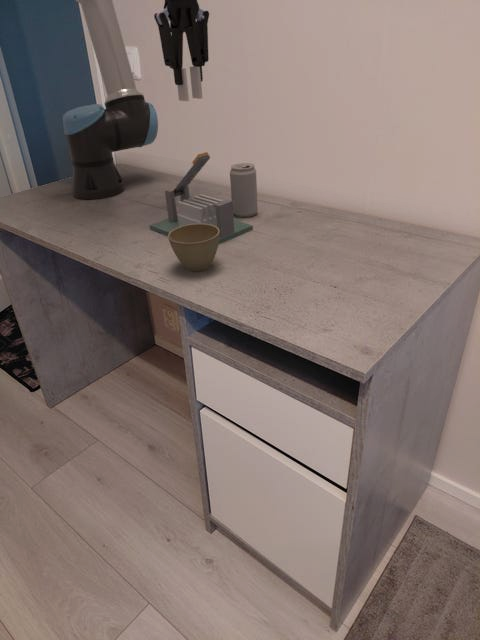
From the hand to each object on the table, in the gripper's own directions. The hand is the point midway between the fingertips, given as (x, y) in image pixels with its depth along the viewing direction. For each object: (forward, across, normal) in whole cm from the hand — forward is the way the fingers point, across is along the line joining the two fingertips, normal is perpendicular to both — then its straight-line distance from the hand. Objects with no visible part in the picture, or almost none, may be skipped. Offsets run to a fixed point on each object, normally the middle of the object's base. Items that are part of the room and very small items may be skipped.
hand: (190, 99), depth 109 cm
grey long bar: (+15, -9, -8) cm, 20 cm away
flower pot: (+27, -22, -25) cm, 43 cm away
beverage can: (+27, +5, -11) cm, 29 cm away
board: (+27, -9, -10) cm, 30 cm away
